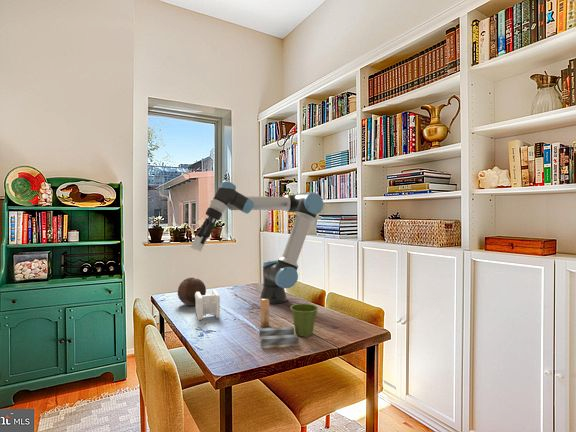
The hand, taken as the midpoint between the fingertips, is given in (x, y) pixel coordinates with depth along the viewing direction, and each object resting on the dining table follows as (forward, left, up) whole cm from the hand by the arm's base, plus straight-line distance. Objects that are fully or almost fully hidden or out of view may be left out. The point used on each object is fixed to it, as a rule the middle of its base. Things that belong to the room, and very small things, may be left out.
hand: (195, 249), depth 166 cm
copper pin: (-12, +33, -34) cm, 49 cm away
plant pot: (-14, +53, -34) cm, 65 cm away
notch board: (-1, +49, -34) cm, 60 cm away
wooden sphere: (-15, -22, -34) cm, 43 cm away
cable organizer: (-6, +1, -34) cm, 34 cm away
